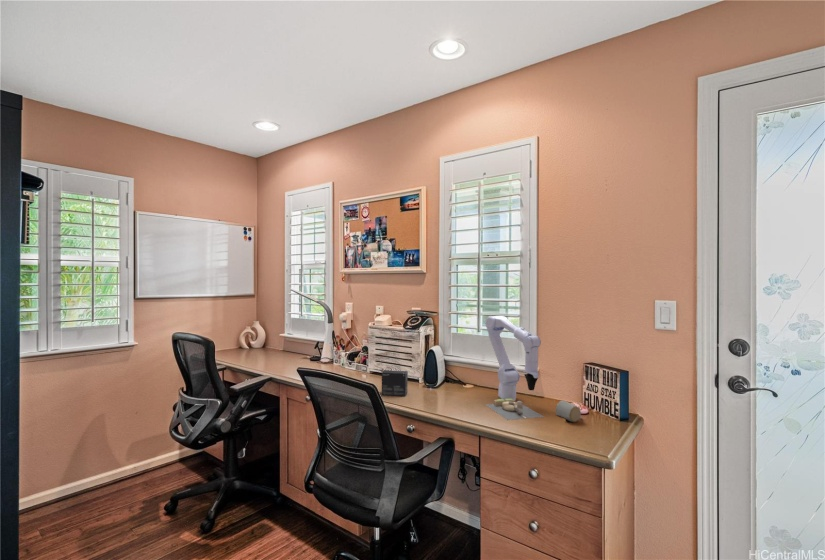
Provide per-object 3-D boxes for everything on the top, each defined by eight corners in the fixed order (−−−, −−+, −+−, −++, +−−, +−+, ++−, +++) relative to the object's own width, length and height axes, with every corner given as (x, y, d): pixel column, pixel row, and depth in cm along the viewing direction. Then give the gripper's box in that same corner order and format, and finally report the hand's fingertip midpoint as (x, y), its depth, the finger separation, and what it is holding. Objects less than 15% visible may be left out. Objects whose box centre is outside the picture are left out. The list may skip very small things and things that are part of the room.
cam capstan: (499, 406, 189) (499, 394, 189) (514, 405, 191) (514, 393, 191) (512, 415, 176) (512, 403, 176) (529, 414, 178) (529, 402, 178)
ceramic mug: (570, 424, 171) (571, 406, 171) (555, 418, 178) (555, 401, 178) (586, 420, 177) (586, 403, 177) (570, 415, 184) (571, 398, 184)
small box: (407, 393, 216) (408, 370, 216) (405, 396, 209) (406, 373, 209) (383, 391, 218) (384, 369, 218) (381, 395, 211) (381, 372, 211)
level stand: (484, 407, 192) (484, 399, 192) (518, 405, 197) (518, 396, 197) (507, 423, 171) (507, 413, 171) (544, 420, 176) (544, 410, 176)
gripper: (518, 358, 197) (518, 385, 197) (527, 364, 183) (527, 394, 183) (533, 358, 197) (532, 386, 197) (543, 364, 183) (542, 394, 183)
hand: (531, 389), depth 190 cm, fingers closed
